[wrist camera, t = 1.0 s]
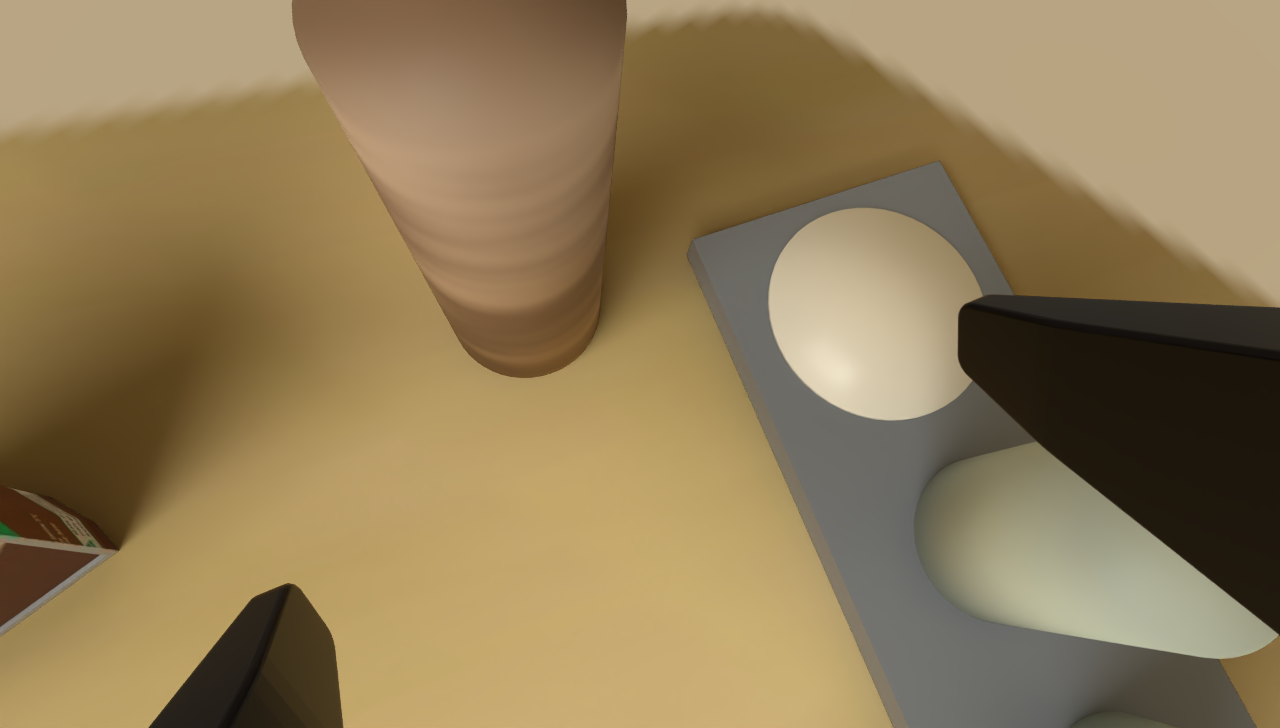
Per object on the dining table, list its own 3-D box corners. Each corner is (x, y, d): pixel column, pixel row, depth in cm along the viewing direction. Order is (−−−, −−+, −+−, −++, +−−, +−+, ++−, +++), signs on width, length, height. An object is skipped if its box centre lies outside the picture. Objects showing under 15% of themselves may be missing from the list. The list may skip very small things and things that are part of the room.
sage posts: (1244, 862, 19) (1619, 1035, 12) (1103, 948, 18) (1424, 1189, 11) (1017, 435, 22) (1216, 382, 15) (886, 490, 21) (1035, 460, 14)
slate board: (1286, 841, 20) (1338, 862, 19) (1016, 1008, 18) (1051, 1044, 17) (923, 178, 25) (942, 157, 24) (686, 254, 24) (693, 237, 22)
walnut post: (620, 349, 22) (675, 93, 10) (477, 398, 21) (341, 184, 9) (570, 223, 24) (564, -148, 11) (432, 265, 23) (257, -89, 10)
